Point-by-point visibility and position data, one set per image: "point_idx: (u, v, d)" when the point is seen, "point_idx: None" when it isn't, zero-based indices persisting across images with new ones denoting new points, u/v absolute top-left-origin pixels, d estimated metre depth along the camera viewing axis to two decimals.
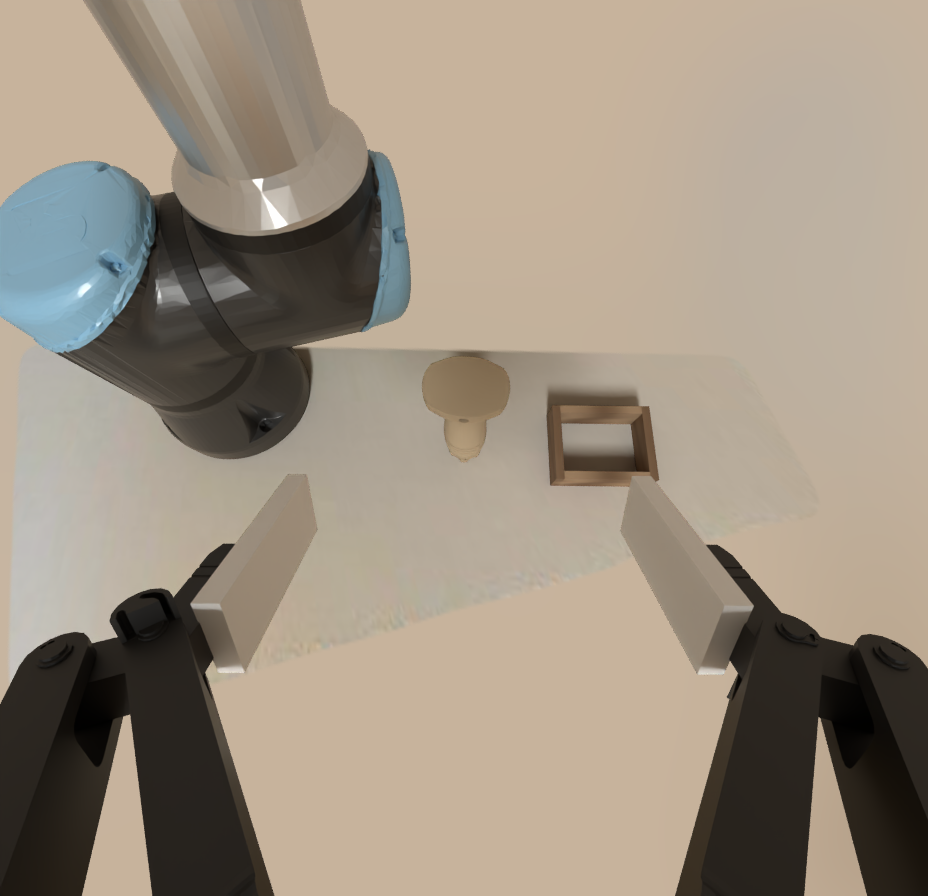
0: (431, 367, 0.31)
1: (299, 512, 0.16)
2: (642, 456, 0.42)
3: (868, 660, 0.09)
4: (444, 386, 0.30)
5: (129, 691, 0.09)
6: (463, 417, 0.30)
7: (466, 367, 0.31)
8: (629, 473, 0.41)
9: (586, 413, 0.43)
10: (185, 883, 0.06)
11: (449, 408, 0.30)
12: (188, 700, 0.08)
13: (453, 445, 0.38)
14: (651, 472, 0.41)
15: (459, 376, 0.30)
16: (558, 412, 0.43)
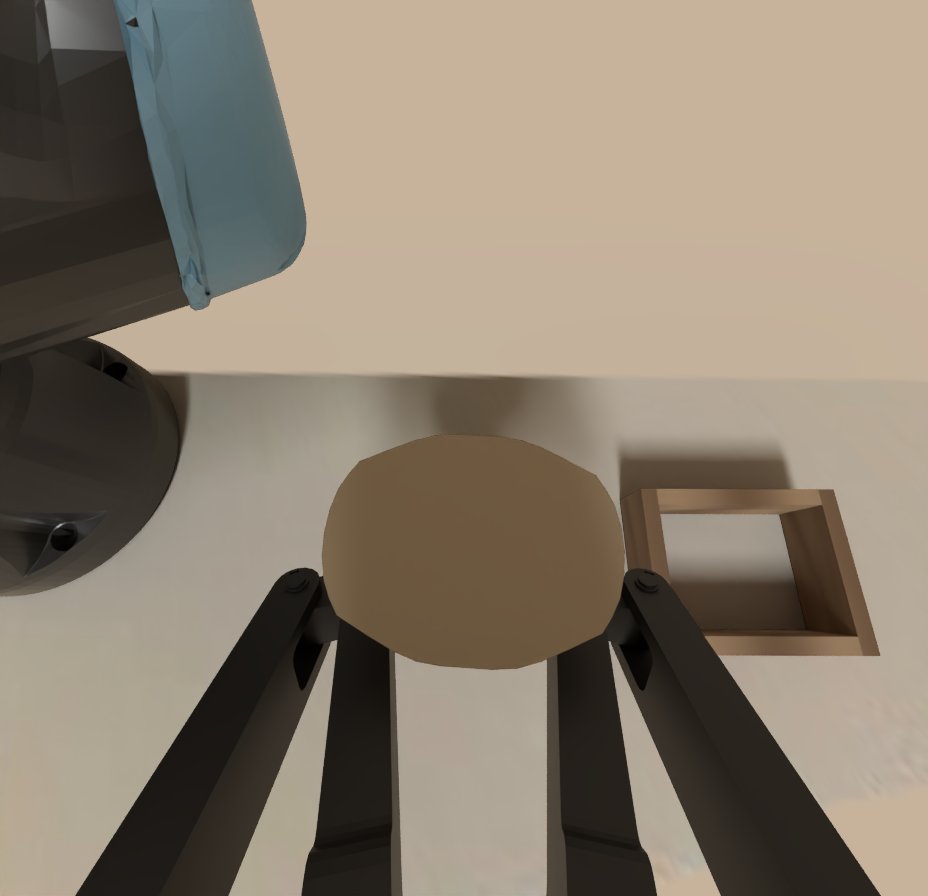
0: (358, 475, 0.09)
1: None
2: (825, 592, 0.21)
3: (634, 594, 0.11)
4: (399, 545, 0.09)
5: None
6: (465, 666, 0.08)
7: (473, 473, 0.09)
8: (815, 640, 0.19)
9: (710, 504, 0.21)
10: (343, 795, 0.07)
11: (415, 633, 0.08)
12: None
13: None
14: (861, 638, 0.19)
15: (451, 506, 0.09)
16: (654, 504, 0.21)
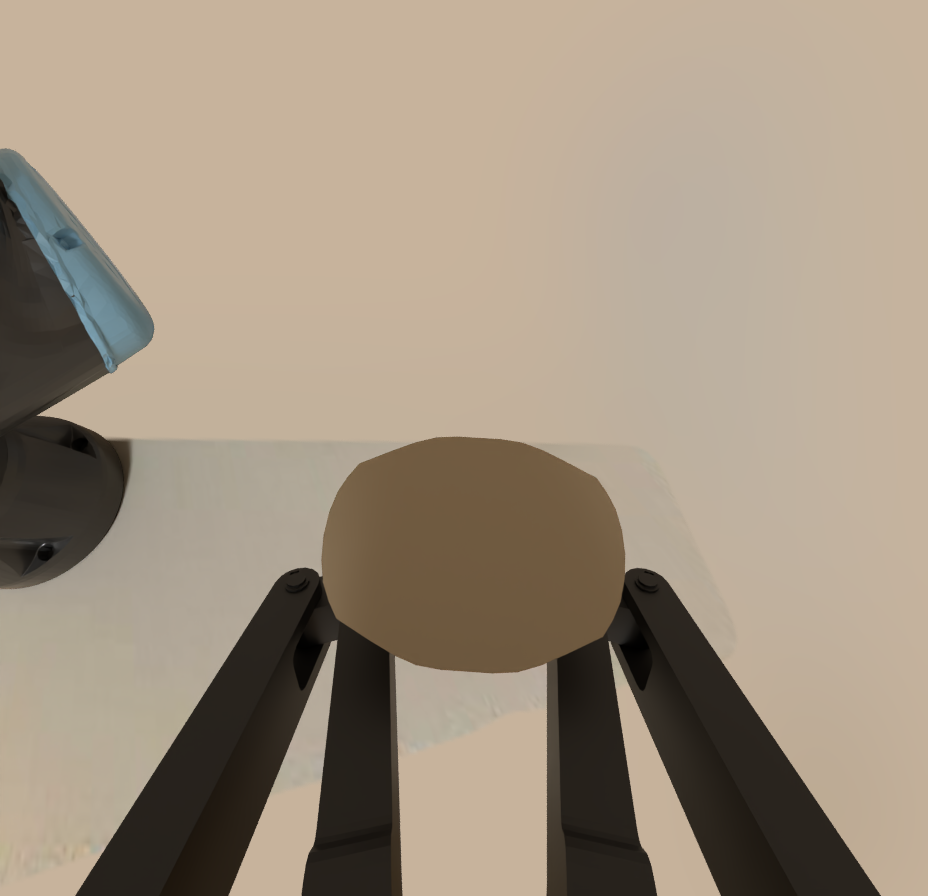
0: (358, 477, 0.09)
1: None
2: None
3: (634, 594, 0.11)
4: (398, 548, 0.09)
5: None
6: None
7: (473, 476, 0.09)
8: None
9: None
10: (343, 795, 0.07)
11: (415, 636, 0.08)
12: None
13: None
14: None
15: (451, 509, 0.09)
16: None
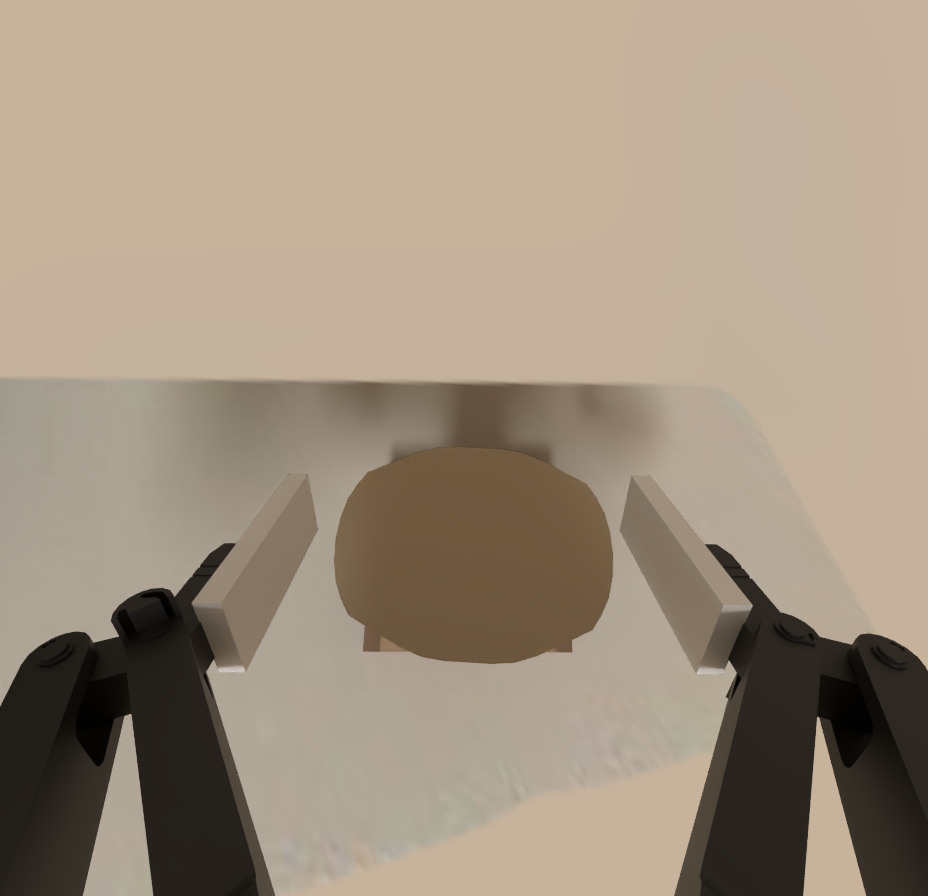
0: (366, 485, 0.10)
1: (300, 512, 0.16)
2: None
3: (867, 659, 0.09)
4: (405, 550, 0.10)
5: (130, 690, 0.09)
6: None
7: (473, 483, 0.10)
8: None
9: None
10: (186, 882, 0.06)
11: (420, 630, 0.09)
12: (190, 699, 0.08)
13: None
14: None
15: (453, 514, 0.10)
16: None
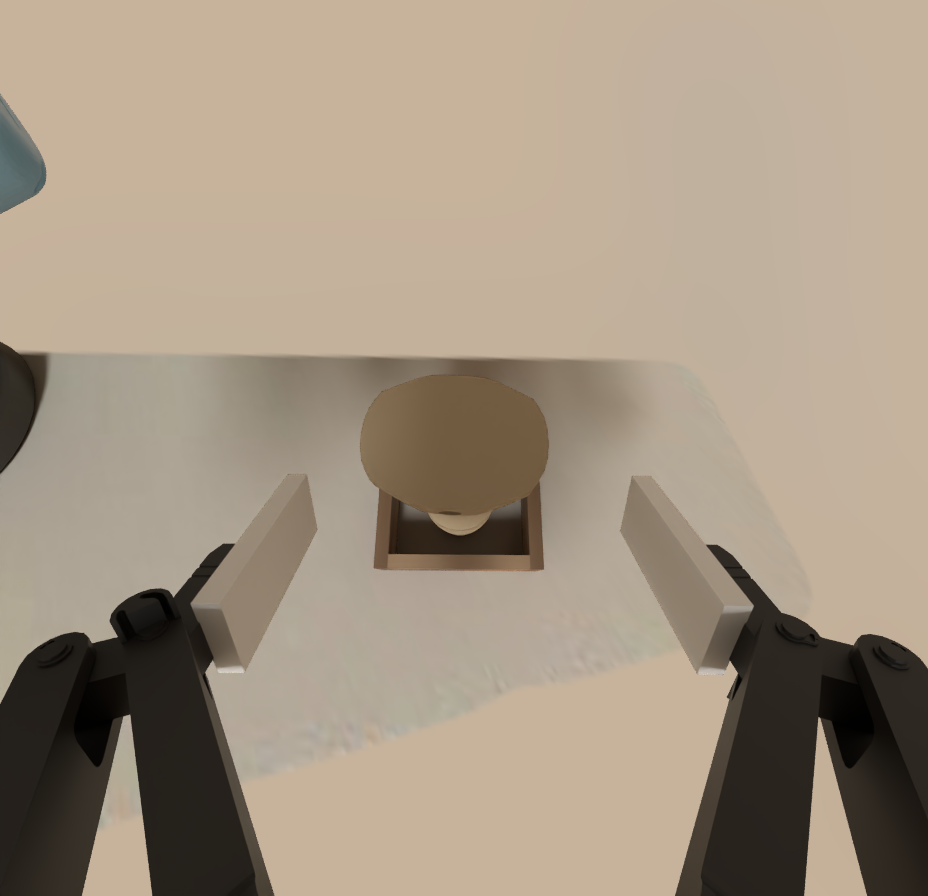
0: (381, 399, 0.15)
1: (299, 512, 0.16)
2: (525, 525, 0.26)
3: (868, 660, 0.09)
4: (407, 440, 0.14)
5: (129, 691, 0.09)
6: (448, 510, 0.14)
7: (455, 398, 0.15)
8: (495, 558, 0.24)
9: None
10: (185, 883, 0.06)
11: (418, 490, 0.14)
12: (189, 700, 0.08)
13: (439, 523, 0.22)
14: (532, 556, 0.25)
15: (441, 418, 0.14)
16: None
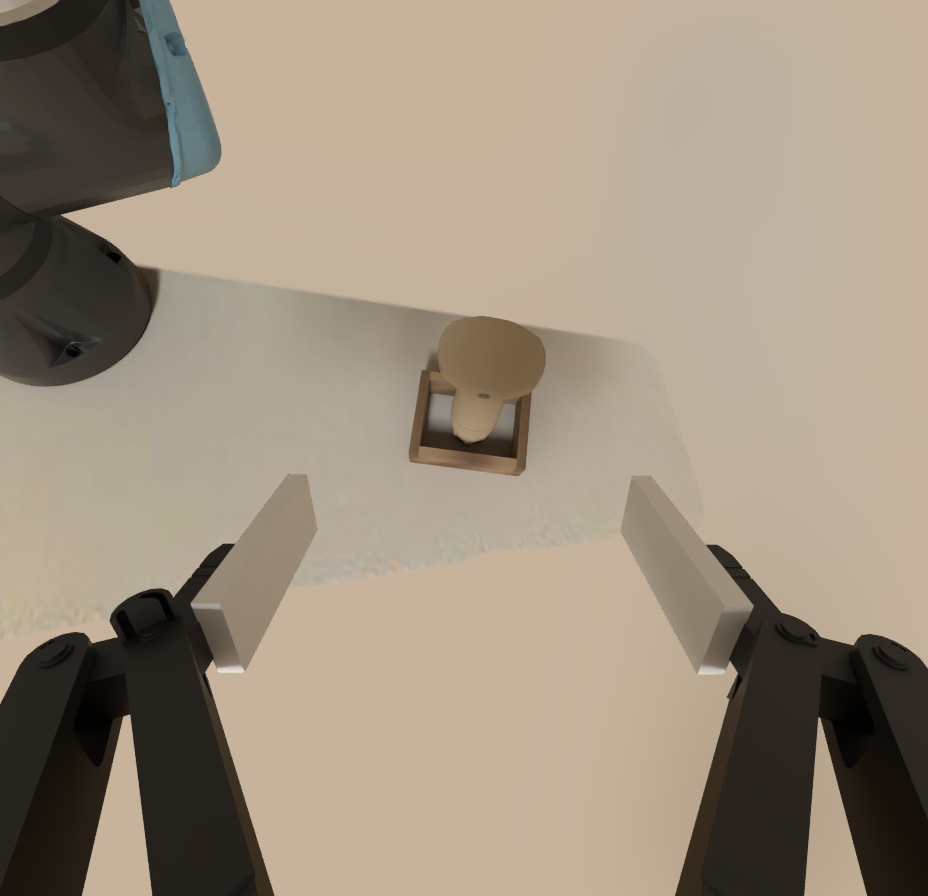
0: (452, 325, 0.25)
1: (299, 512, 0.16)
2: (516, 441, 0.37)
3: (868, 660, 0.09)
4: (465, 351, 0.24)
5: (129, 691, 0.09)
6: (485, 392, 0.24)
7: (494, 331, 0.25)
8: (493, 457, 0.35)
9: None
10: (185, 883, 0.06)
11: (469, 378, 0.24)
12: (188, 700, 0.08)
13: (460, 424, 0.33)
14: (518, 459, 0.35)
15: (485, 341, 0.25)
16: (427, 379, 0.37)
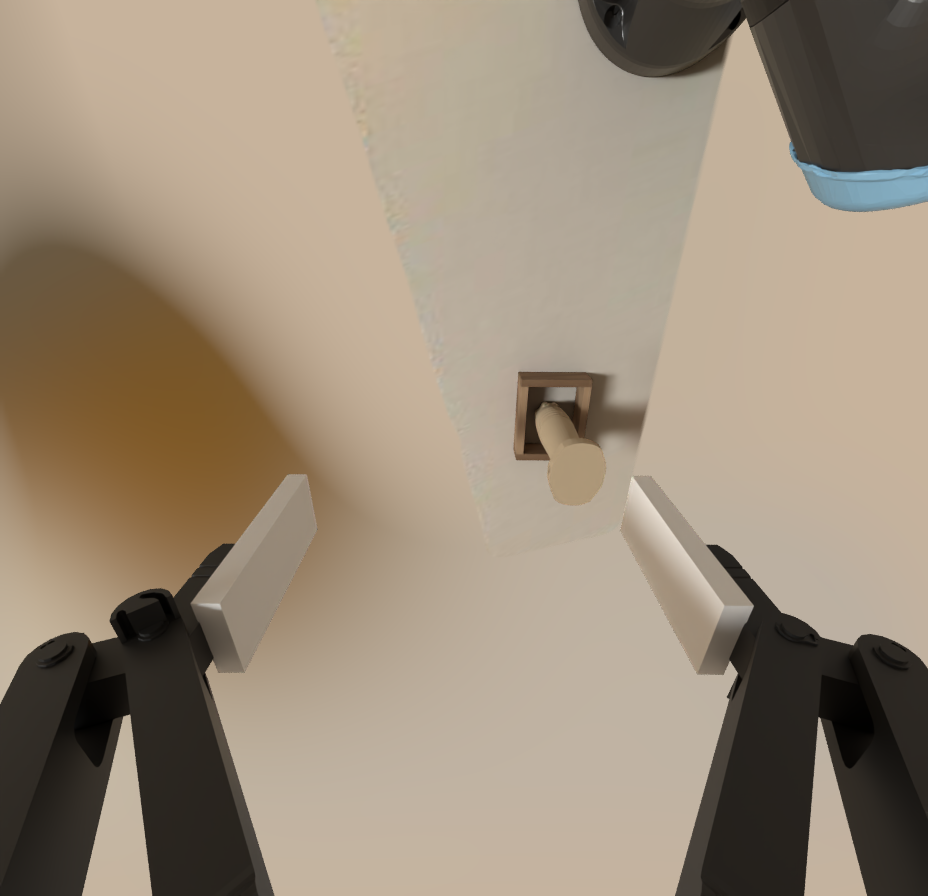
0: (598, 449, 0.36)
1: (299, 512, 0.16)
2: (537, 449, 0.51)
3: (868, 660, 0.09)
4: (578, 459, 0.36)
5: (128, 691, 0.09)
6: (550, 472, 0.37)
7: (594, 475, 0.37)
8: (522, 439, 0.49)
9: (581, 409, 0.47)
10: (185, 883, 0.06)
11: (558, 464, 0.36)
12: (188, 700, 0.08)
13: (543, 424, 0.44)
14: (522, 455, 0.50)
15: (586, 470, 0.37)
16: (584, 385, 0.46)
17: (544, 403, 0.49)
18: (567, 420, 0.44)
